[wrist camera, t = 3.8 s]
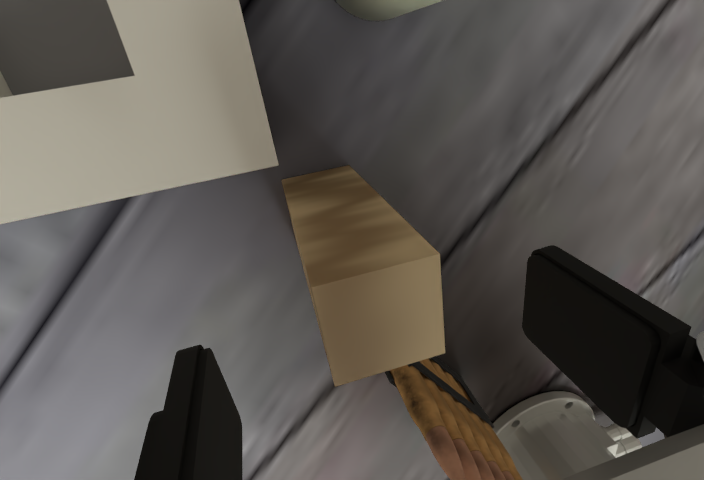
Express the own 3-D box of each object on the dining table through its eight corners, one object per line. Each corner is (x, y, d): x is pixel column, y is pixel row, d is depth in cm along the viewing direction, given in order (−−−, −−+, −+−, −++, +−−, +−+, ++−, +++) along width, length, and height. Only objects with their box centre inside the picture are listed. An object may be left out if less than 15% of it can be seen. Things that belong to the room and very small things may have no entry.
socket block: (183, -221, 14) (154, -349, 10) (272, 144, 21) (278, 165, 16) (-258, -198, 12) (-543, -347, 8) (-12, 201, 18) (-94, 244, 14)
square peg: (348, 164, 22) (439, 253, 11) (358, 226, 24) (445, 353, 13) (281, 179, 22) (311, 287, 11) (296, 241, 23) (334, 386, 13)
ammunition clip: (461, 377, 32) (567, 531, 21) (445, 391, 32) (541, 550, 22) (382, 312, 27) (468, 469, 17) (364, 329, 27) (436, 494, 17)
